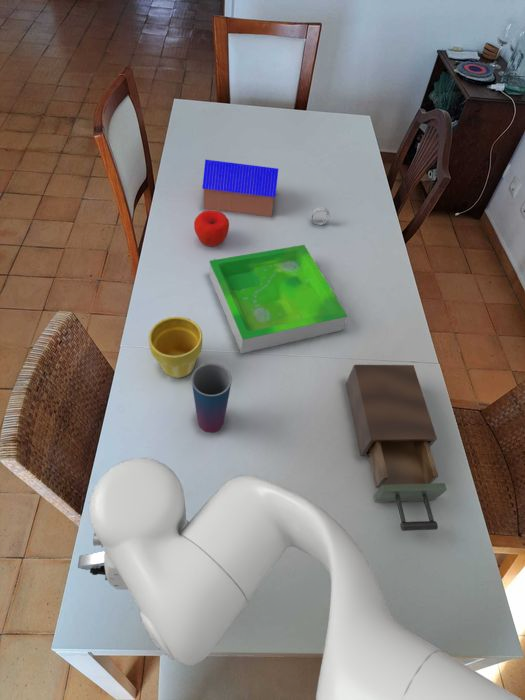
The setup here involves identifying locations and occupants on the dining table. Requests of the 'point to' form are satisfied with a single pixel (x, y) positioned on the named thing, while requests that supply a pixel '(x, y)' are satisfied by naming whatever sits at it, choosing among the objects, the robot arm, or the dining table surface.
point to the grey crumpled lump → (318, 211)
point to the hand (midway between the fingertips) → (161, 572)
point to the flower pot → (176, 345)
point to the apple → (211, 227)
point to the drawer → (406, 477)
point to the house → (239, 187)
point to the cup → (211, 395)
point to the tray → (275, 297)
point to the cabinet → (388, 405)
